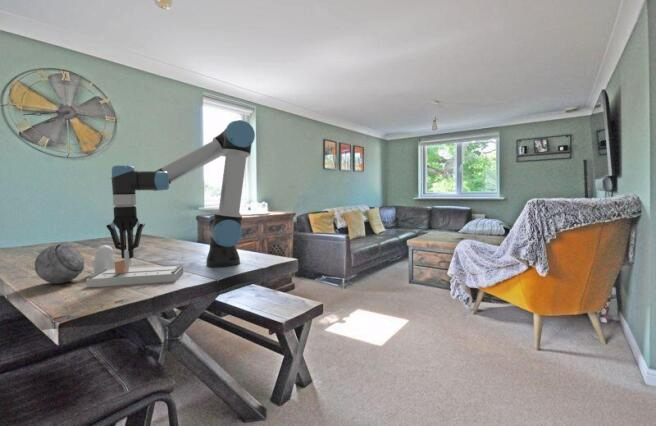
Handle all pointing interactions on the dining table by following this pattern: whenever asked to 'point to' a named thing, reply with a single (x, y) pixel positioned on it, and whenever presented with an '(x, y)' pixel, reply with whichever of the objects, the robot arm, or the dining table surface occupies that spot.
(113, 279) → the board
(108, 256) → the figurine
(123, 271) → the fader knob
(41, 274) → the grey rounded lump
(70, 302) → the dining table surface
